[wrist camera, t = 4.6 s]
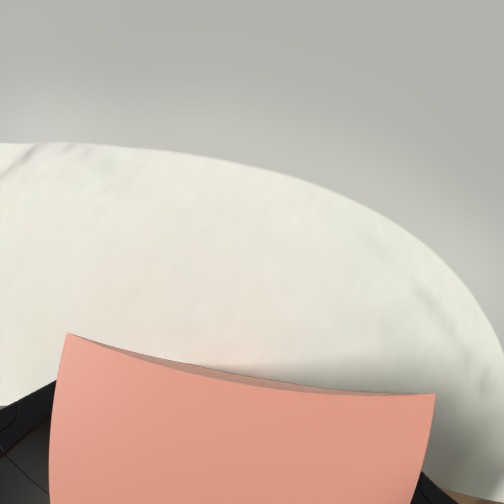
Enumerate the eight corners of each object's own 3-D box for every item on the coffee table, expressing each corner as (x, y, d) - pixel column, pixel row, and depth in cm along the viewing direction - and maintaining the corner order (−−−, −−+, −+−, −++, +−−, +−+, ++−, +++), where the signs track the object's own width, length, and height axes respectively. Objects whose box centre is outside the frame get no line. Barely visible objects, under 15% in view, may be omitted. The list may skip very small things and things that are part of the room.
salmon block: (255, 457, 13) (349, 611, 1) (169, 441, 12) (63, 578, 1) (271, 380, 15) (436, 393, 3) (184, 363, 14) (66, 332, 3)
